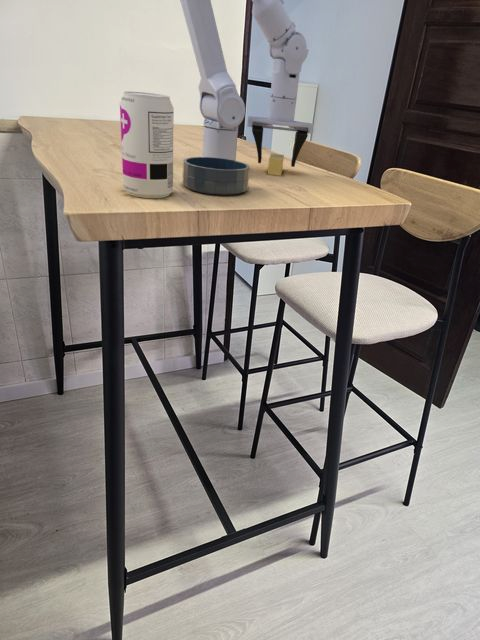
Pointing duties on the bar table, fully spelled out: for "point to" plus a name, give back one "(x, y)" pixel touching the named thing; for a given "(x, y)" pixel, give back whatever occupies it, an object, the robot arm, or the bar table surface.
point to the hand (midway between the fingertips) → (276, 164)
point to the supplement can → (147, 144)
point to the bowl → (215, 175)
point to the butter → (275, 164)
